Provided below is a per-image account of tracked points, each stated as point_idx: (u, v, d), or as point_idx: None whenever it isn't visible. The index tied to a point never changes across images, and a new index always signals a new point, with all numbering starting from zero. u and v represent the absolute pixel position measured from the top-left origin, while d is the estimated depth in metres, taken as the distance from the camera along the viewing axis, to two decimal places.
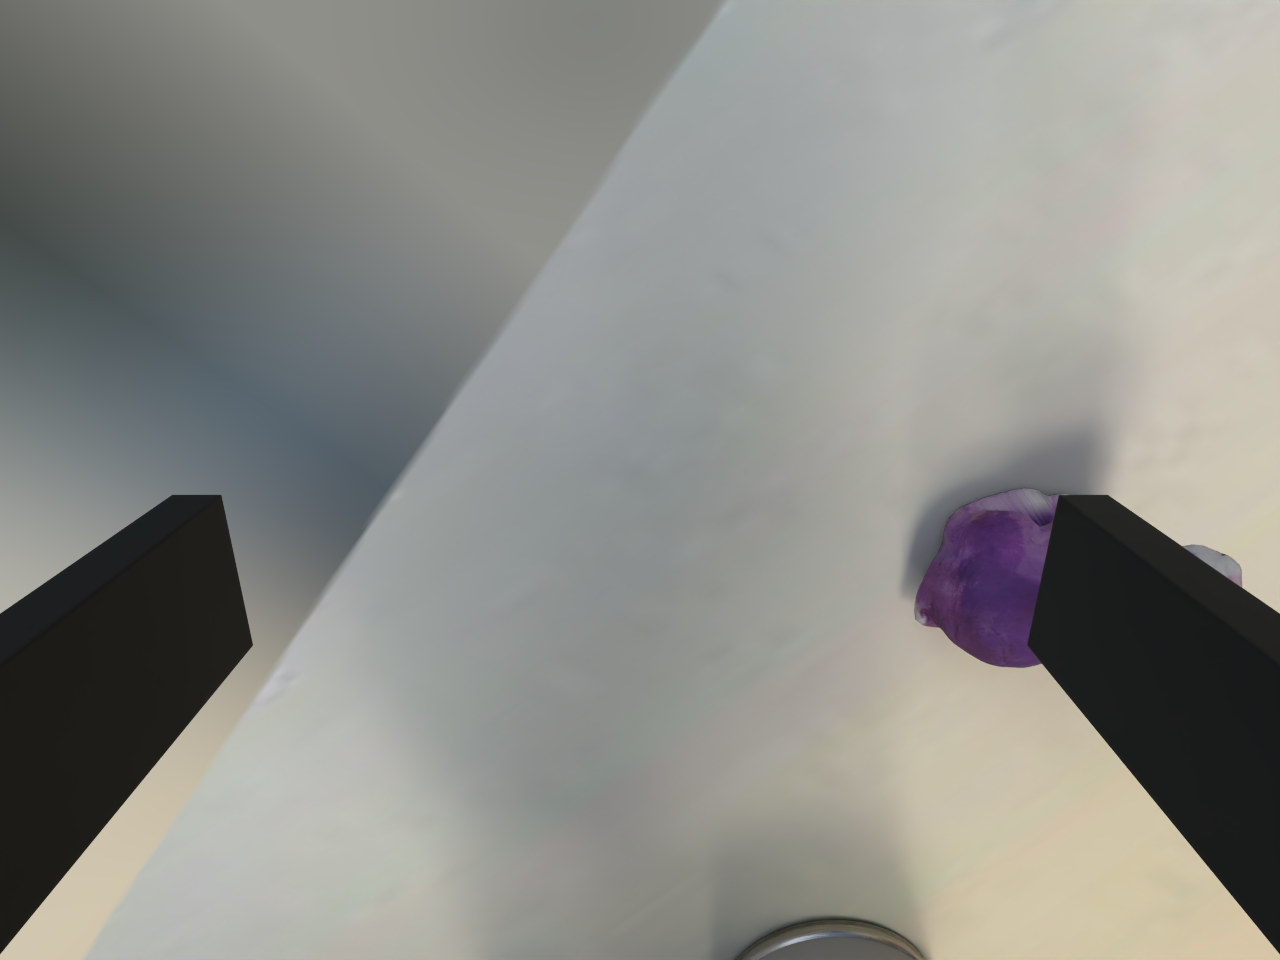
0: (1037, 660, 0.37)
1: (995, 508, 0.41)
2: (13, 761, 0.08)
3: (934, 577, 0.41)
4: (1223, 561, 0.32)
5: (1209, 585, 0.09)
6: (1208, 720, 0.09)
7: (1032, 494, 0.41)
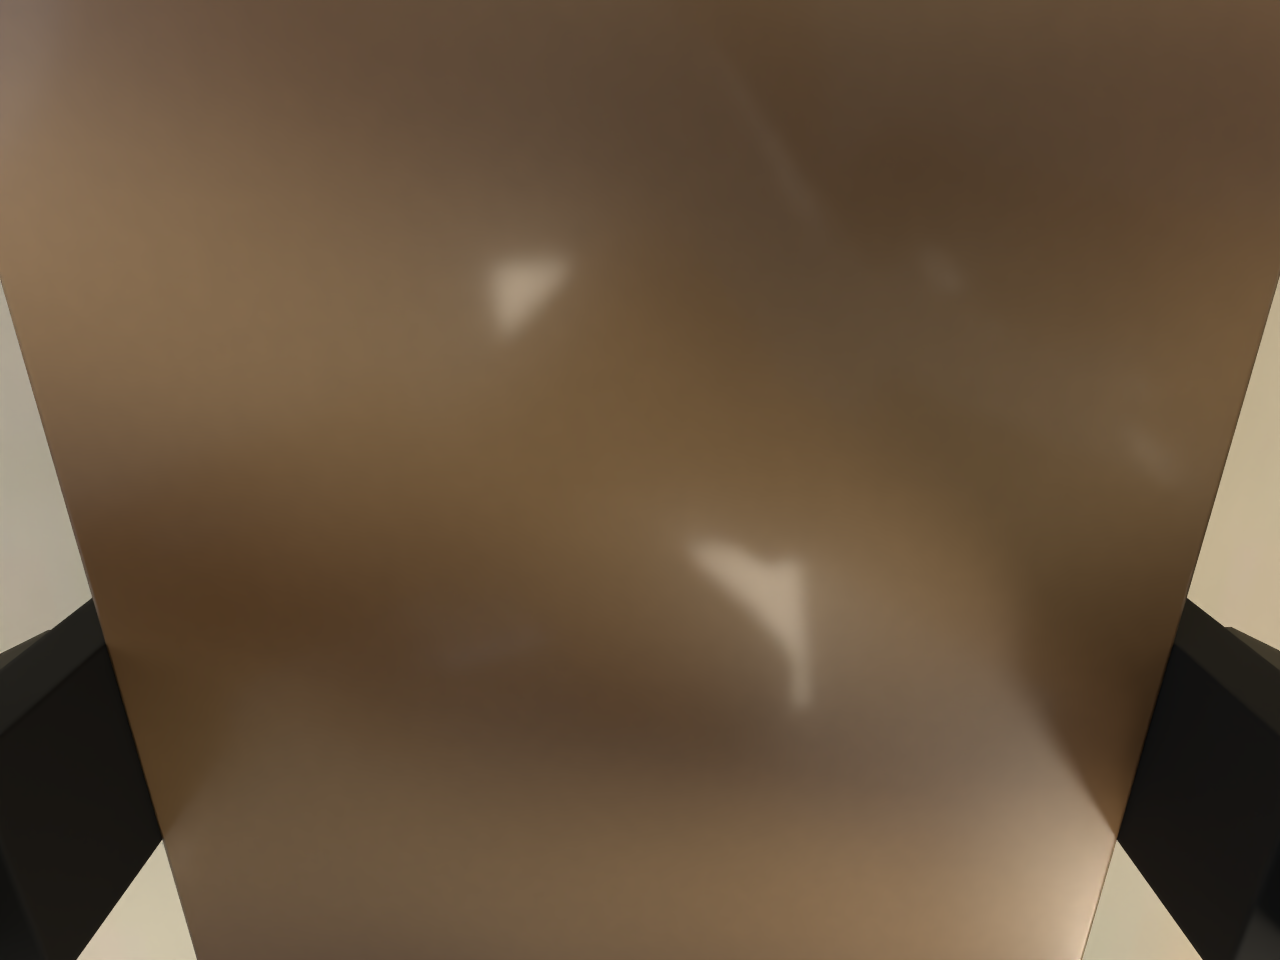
0: None
1: None
2: None
3: None
4: None
5: None
6: None
7: None
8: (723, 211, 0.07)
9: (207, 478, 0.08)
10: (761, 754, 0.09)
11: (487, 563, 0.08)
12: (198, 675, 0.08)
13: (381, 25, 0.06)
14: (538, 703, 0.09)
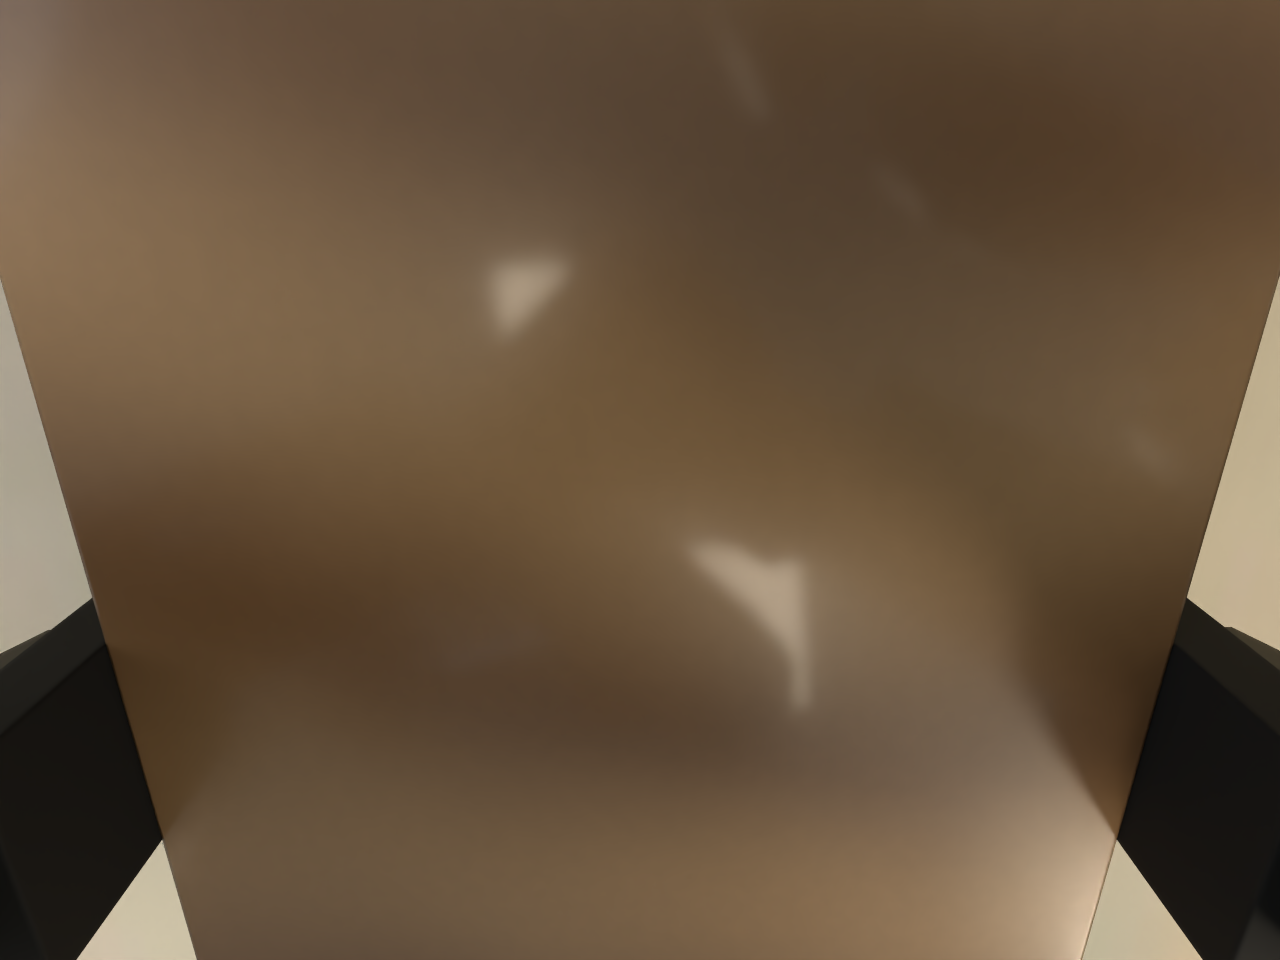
0: None
1: None
2: (128, 722, 0.09)
3: None
4: None
5: None
6: None
7: None
8: (723, 210, 0.07)
9: (206, 478, 0.08)
10: (761, 754, 0.09)
11: (487, 563, 0.08)
12: (199, 675, 0.08)
13: (380, 25, 0.06)
14: (537, 704, 0.09)
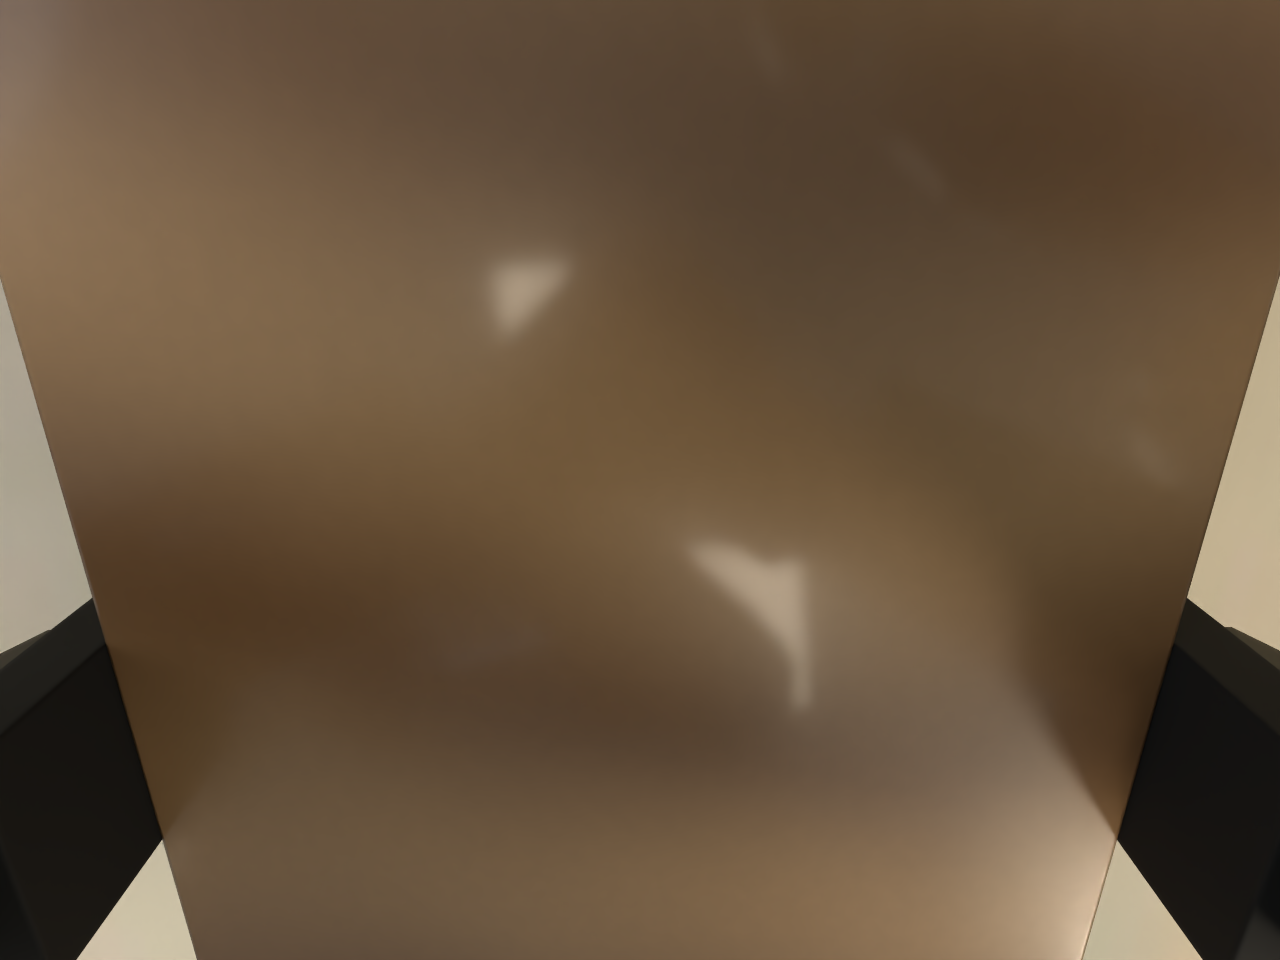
0: None
1: None
2: (128, 722, 0.09)
3: None
4: None
5: None
6: None
7: None
8: (722, 210, 0.07)
9: (207, 477, 0.08)
10: (762, 754, 0.09)
11: (487, 563, 0.08)
12: (199, 674, 0.08)
13: (381, 26, 0.06)
14: (537, 704, 0.09)
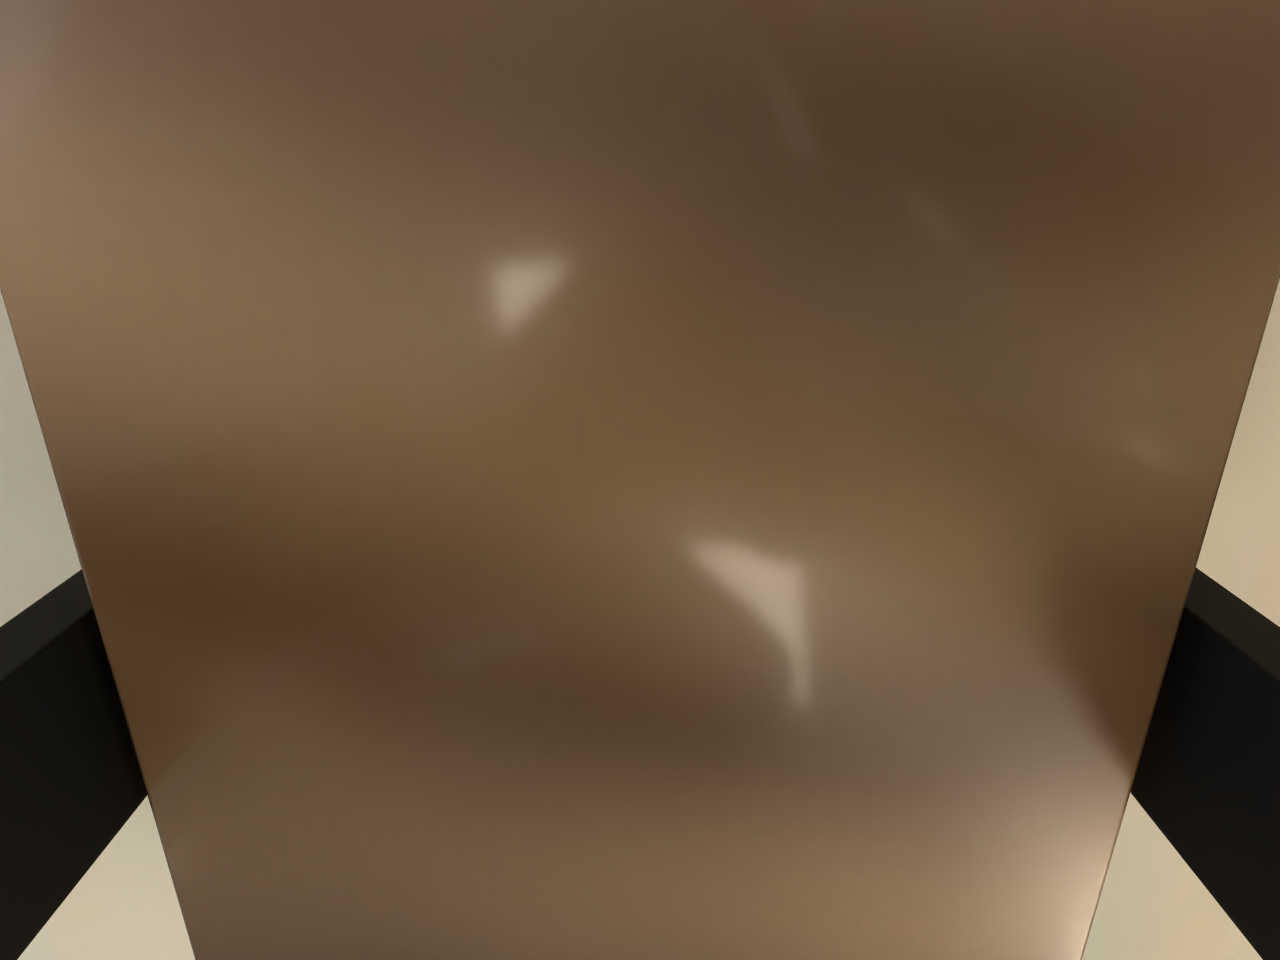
0: None
1: None
2: (45, 749, 0.08)
3: None
4: None
5: None
6: (1178, 710, 0.09)
7: None
8: (722, 205, 0.07)
9: (204, 474, 0.08)
10: (761, 751, 0.09)
11: (486, 559, 0.08)
12: (196, 672, 0.08)
13: (377, 18, 0.06)
14: (537, 701, 0.08)
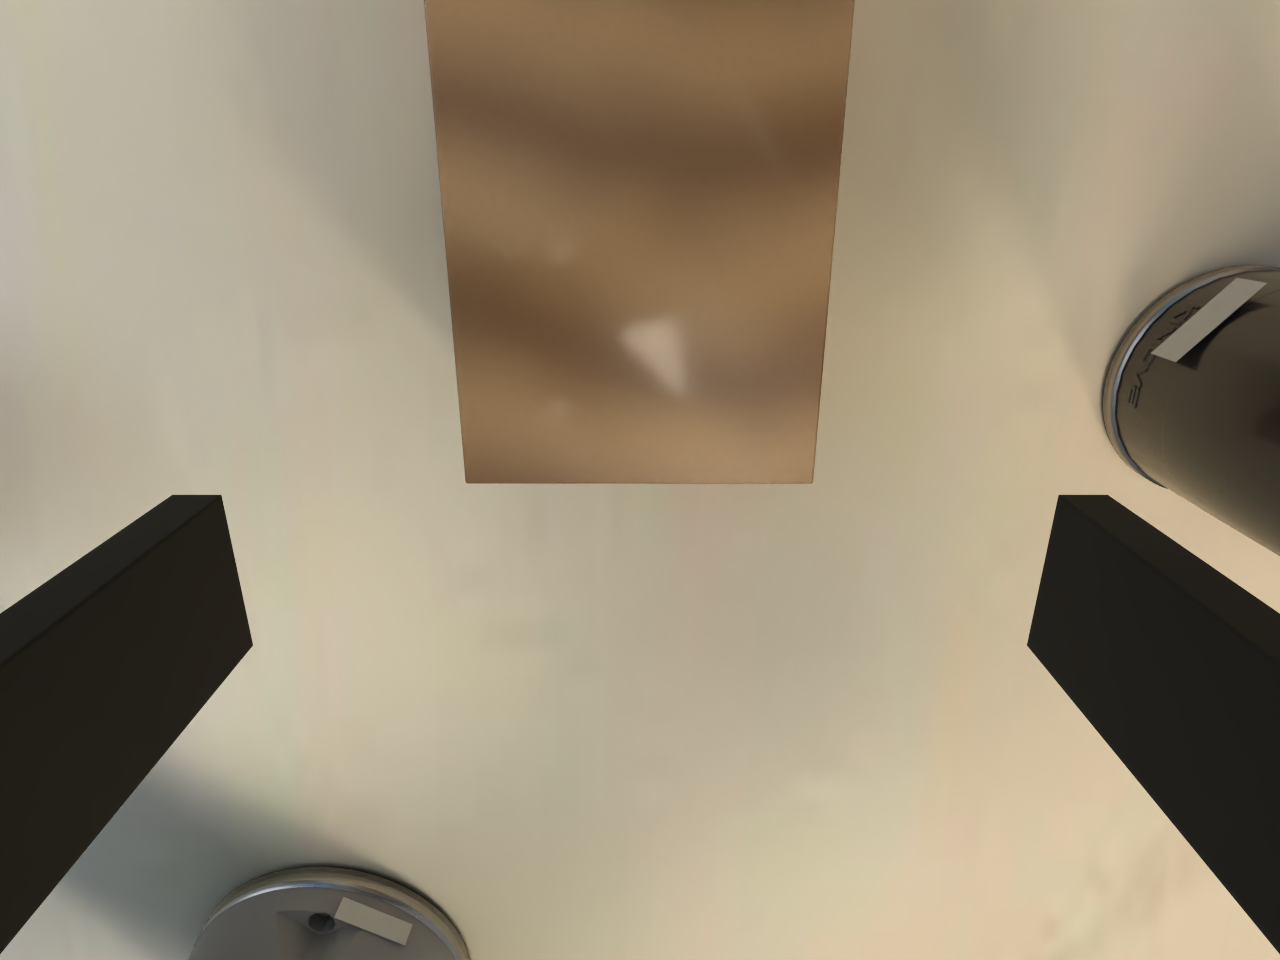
0: None
1: None
2: (13, 761, 0.08)
3: None
4: None
5: (1209, 585, 0.09)
6: (1207, 720, 0.09)
7: None
8: (664, 182, 0.22)
9: (497, 271, 0.23)
10: (683, 381, 0.24)
11: (588, 302, 0.23)
12: (484, 347, 0.24)
13: (565, 128, 0.22)
14: (603, 359, 0.24)
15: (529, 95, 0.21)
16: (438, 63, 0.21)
